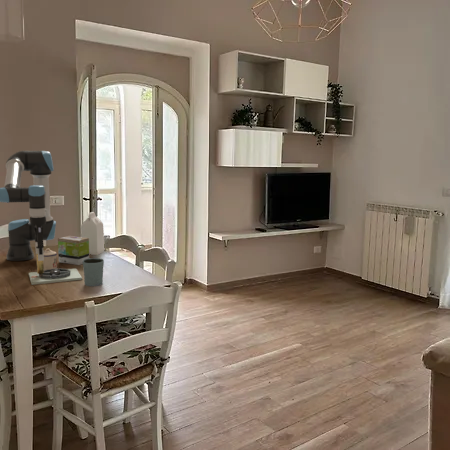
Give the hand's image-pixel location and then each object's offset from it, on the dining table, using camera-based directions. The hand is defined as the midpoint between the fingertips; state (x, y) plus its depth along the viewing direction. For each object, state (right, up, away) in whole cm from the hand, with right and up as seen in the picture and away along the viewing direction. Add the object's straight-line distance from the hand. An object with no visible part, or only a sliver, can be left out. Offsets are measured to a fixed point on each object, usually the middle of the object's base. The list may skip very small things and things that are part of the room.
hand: (39, 257), depth 240 cm
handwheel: (+6, -9, +4) cm, 11 cm away
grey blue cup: (+29, -13, -7) cm, 33 cm away
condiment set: (-3, -8, +22) cm, 23 cm away
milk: (+9, -1, +64) cm, 65 cm away
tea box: (+6, -6, +37) cm, 38 cm away
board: (+6, -11, +4) cm, 13 cm away
